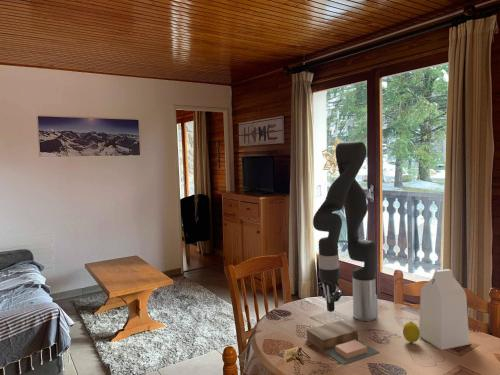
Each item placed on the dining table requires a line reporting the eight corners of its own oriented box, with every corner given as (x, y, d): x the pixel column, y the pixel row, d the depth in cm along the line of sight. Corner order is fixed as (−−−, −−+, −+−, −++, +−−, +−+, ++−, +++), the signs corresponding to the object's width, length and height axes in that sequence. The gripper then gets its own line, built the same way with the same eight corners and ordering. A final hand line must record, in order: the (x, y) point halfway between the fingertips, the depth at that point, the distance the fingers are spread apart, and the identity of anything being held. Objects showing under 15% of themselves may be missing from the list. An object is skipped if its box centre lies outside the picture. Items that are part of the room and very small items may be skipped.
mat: (359, 341, 141) (359, 340, 141) (379, 352, 132) (379, 351, 132) (324, 351, 134) (324, 350, 134) (342, 364, 125) (342, 363, 125)
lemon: (418, 340, 140) (418, 319, 139) (420, 347, 135) (420, 325, 134) (402, 338, 142) (402, 317, 141) (403, 345, 136) (403, 324, 136)
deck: (340, 330, 150) (340, 320, 150) (358, 340, 141) (358, 330, 141) (307, 340, 143) (306, 329, 143) (323, 351, 134) (323, 340, 134)
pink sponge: (367, 346, 132) (367, 352, 132) (355, 339, 137) (355, 345, 137) (346, 353, 128) (346, 358, 128) (335, 345, 133) (335, 351, 133)
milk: (441, 349, 133) (441, 276, 131) (418, 335, 144) (418, 268, 142) (469, 344, 136) (469, 272, 134) (444, 330, 147) (444, 264, 145)
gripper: (348, 268, 137) (350, 314, 139) (326, 260, 149) (327, 303, 150) (332, 272, 134) (334, 319, 135) (310, 263, 146) (312, 307, 147)
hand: (330, 310), depth 143 cm, fingers closed
